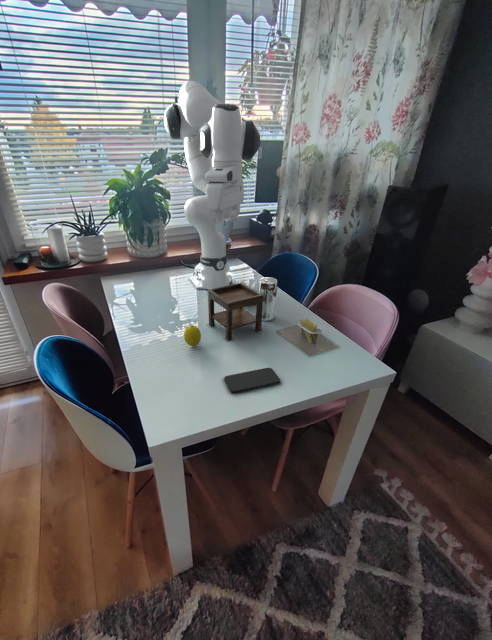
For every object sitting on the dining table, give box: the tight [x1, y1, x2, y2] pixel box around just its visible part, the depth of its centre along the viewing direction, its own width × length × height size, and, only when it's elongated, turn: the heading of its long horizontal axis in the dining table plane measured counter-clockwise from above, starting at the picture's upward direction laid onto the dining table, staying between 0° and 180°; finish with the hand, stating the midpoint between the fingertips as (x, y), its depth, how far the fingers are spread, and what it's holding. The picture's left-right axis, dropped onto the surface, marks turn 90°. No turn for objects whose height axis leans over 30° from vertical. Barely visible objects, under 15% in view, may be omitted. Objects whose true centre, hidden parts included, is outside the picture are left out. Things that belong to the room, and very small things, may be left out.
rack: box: [207, 282, 263, 342], centre depth 116 cm, size 14×14×14 cm
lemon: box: [183, 324, 202, 348], centre depth 107 cm, size 6×6×8 cm
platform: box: [277, 318, 338, 357], centre depth 111 cm, size 12×18×7 cm, turn 27°
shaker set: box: [238, 279, 259, 292], centre depth 134 cm, size 12×4×11 cm, turn 114°
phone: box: [223, 367, 281, 394], centre depth 93 cm, size 7×1×15 cm
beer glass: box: [258, 276, 278, 322], centre depth 123 cm, size 7×7×15 cm
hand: (227, 223), depth 103 cm, fingers open, 8 cm apart
